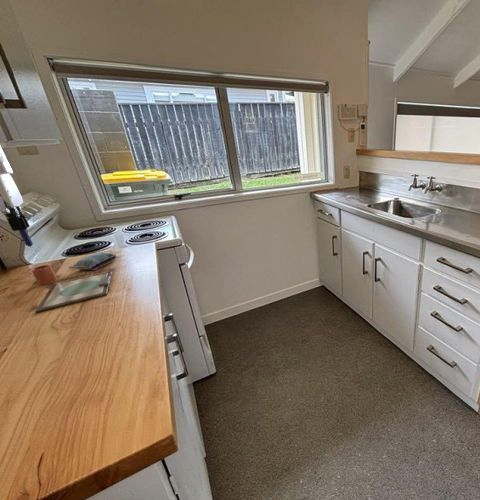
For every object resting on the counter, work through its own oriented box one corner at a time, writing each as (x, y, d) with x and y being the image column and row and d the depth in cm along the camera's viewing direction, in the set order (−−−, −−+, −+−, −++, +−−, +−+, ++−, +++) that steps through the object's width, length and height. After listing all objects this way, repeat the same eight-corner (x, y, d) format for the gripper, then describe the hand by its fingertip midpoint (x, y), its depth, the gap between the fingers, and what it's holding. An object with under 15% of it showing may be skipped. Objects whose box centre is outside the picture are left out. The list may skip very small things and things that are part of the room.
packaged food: (71, 273, 104) (65, 261, 102) (100, 260, 115) (95, 249, 113) (92, 274, 103) (87, 261, 101) (120, 260, 114) (115, 249, 112)
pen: (26, 247, 91) (8, 212, 87) (27, 246, 92) (10, 211, 88) (33, 246, 92) (16, 211, 88) (34, 245, 93) (17, 211, 89)
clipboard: (35, 313, 80) (33, 309, 79) (53, 285, 95) (51, 282, 95) (107, 295, 88) (105, 291, 88) (112, 272, 104) (111, 269, 103)
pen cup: (37, 287, 95) (29, 271, 92) (41, 282, 98) (33, 267, 96) (56, 283, 97) (48, 268, 95) (59, 278, 100) (51, 263, 98)
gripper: (-16, 168, 87) (13, 225, 94) (-41, 172, 75) (-6, 237, 82) (19, 166, 91) (44, 221, 98) (0, 170, 79) (30, 232, 86)
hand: (21, 228), depth 90 cm, fingers closed on pen, 1 cm apart
